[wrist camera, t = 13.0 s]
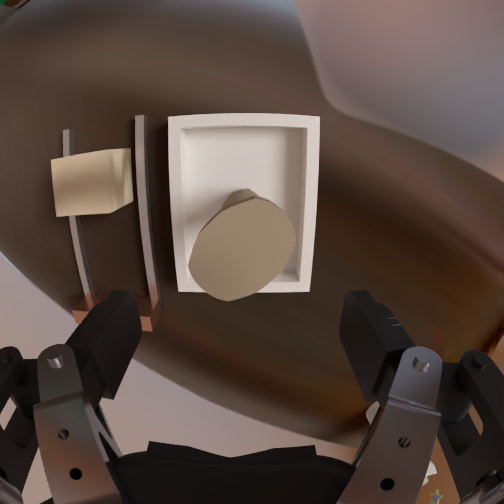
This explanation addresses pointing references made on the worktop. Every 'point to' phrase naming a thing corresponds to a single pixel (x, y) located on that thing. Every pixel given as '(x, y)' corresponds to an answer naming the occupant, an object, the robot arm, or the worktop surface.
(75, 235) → the track
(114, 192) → the block
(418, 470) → the robot arm
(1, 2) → the food container
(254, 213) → the handle
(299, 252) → the tray
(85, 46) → the worktop surface
